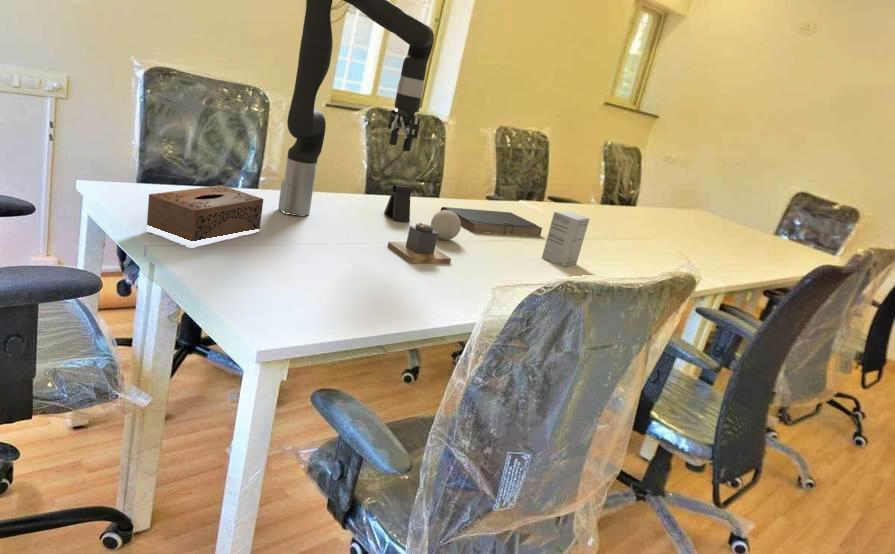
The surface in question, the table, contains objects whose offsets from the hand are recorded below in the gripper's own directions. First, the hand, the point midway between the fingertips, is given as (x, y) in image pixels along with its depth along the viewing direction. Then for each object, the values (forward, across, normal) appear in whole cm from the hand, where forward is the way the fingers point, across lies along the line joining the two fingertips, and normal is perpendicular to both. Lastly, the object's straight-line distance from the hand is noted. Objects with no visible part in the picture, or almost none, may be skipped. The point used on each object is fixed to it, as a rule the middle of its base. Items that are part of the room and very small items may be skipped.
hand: (399, 147), depth 193 cm
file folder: (+29, +18, -58) cm, 67 cm away
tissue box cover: (+29, -3, +55) cm, 62 cm away
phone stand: (+28, +20, -16) cm, 38 cm away
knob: (+27, -18, -3) cm, 32 cm away
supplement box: (+28, -22, -58) cm, 68 cm away
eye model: (+28, -2, -22) cm, 36 cm away
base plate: (+28, -18, -3) cm, 34 cm away
